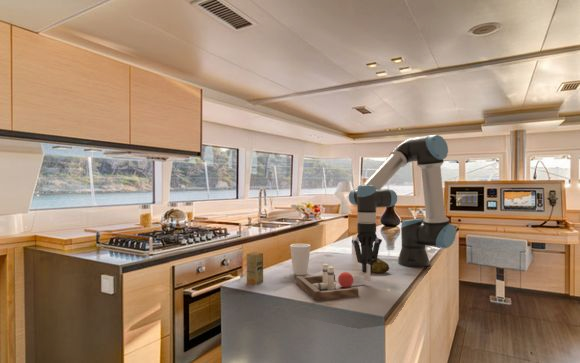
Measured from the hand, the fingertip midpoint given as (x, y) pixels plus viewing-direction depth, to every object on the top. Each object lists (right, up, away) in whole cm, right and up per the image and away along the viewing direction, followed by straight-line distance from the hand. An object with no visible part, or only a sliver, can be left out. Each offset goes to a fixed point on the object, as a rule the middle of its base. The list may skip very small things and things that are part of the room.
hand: (367, 280), depth 139 cm
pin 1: (-17, -2, -3) cm, 18 cm away
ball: (-9, +1, -3) cm, 10 cm away
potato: (+8, -2, +21) cm, 23 cm away
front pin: (-14, -1, -4) cm, 14 cm away
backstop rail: (-17, -2, -5) cm, 18 cm away
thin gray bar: (-5, -2, -2) cm, 5 cm away
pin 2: (-16, -2, -8) cm, 18 cm away
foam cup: (-27, -3, +19) cm, 33 cm away
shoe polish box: (-46, -2, +5) cm, 47 cm away
